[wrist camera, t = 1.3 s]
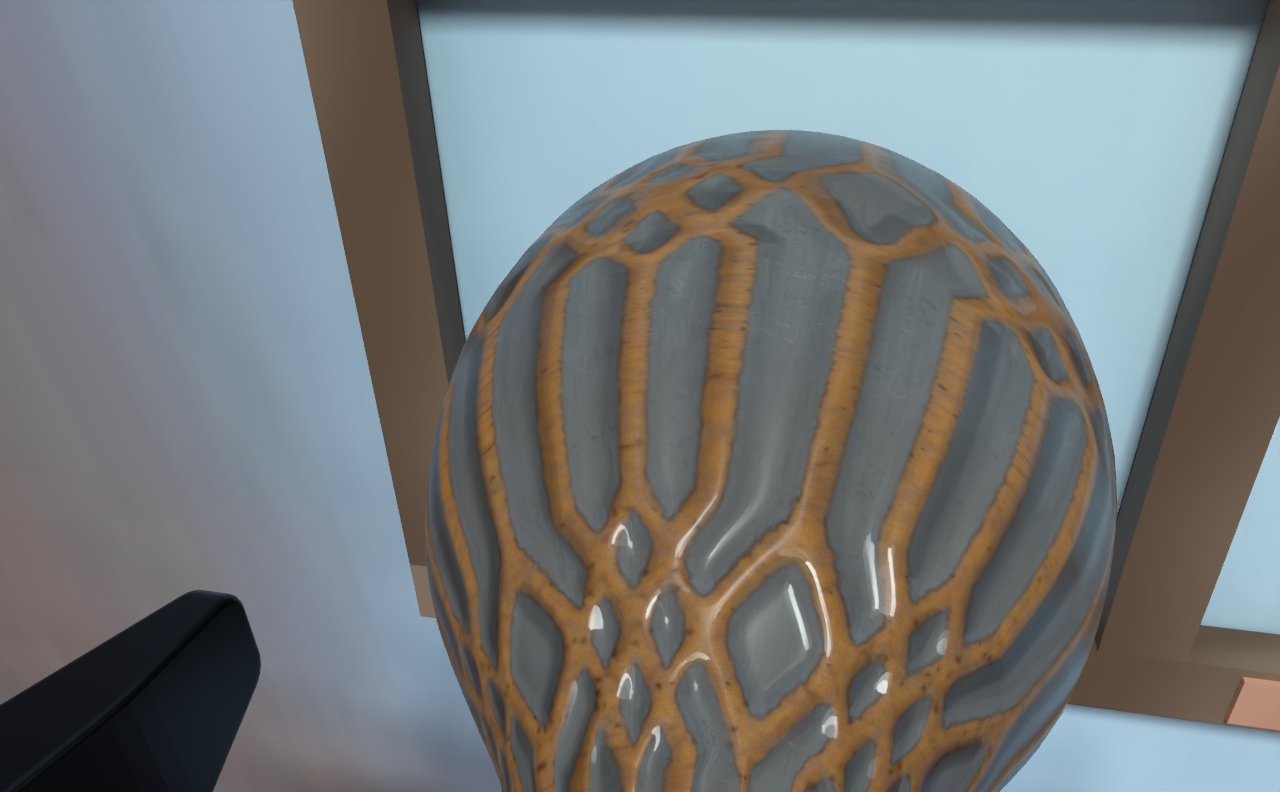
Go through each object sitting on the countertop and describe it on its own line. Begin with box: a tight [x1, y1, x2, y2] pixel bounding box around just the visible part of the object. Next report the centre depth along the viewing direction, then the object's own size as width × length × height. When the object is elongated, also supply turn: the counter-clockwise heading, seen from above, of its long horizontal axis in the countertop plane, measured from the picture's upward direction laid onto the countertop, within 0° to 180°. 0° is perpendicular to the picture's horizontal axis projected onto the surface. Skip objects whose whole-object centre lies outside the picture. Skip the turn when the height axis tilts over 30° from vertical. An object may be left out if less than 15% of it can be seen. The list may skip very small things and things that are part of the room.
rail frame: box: [293, 0, 1280, 732], centre depth 13 cm, size 23×12×1 cm, turn 91°
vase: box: [425, 130, 1117, 792], centre depth 10 cm, size 7×7×9 cm
